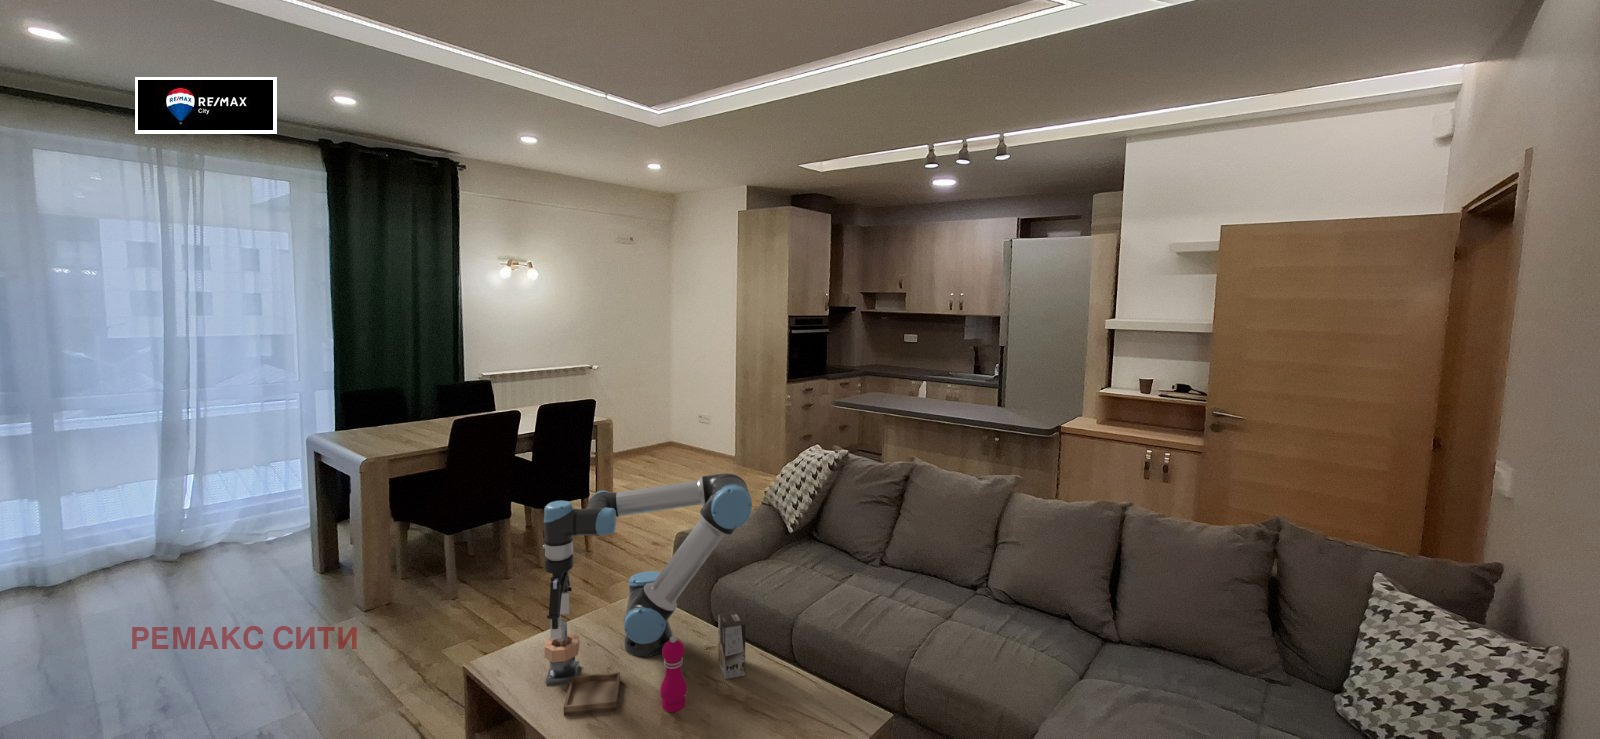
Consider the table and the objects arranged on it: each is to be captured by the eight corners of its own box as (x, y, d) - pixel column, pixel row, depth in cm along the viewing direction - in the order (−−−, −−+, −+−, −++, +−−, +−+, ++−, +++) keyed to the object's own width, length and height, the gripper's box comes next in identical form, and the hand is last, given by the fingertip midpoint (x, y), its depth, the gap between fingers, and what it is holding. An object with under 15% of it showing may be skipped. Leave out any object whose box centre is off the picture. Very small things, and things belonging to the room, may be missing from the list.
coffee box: (745, 675, 187) (746, 624, 185) (724, 679, 185) (724, 627, 183) (738, 658, 196) (738, 609, 194) (717, 662, 193) (717, 612, 191)
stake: (579, 665, 190) (577, 615, 188) (575, 681, 183) (573, 629, 181) (551, 668, 189) (549, 617, 187) (545, 684, 181) (544, 632, 179)
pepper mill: (674, 717, 168) (673, 646, 166) (654, 707, 172) (653, 638, 170) (692, 702, 175) (692, 634, 172) (673, 693, 178) (672, 626, 176)
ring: (580, 642, 190) (580, 632, 190) (576, 660, 181) (575, 648, 181) (549, 645, 188) (548, 634, 188) (542, 663, 180) (542, 651, 179)
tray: (620, 680, 184) (620, 672, 183) (616, 710, 171) (615, 701, 170) (571, 684, 181) (571, 676, 181) (563, 715, 168) (563, 707, 168)
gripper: (553, 539, 193) (554, 605, 195) (535, 575, 168) (537, 650, 171) (579, 538, 194) (580, 603, 197) (565, 574, 170) (566, 648, 172)
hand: (560, 625), depth 184 cm, fingers open, 13 cm apart
